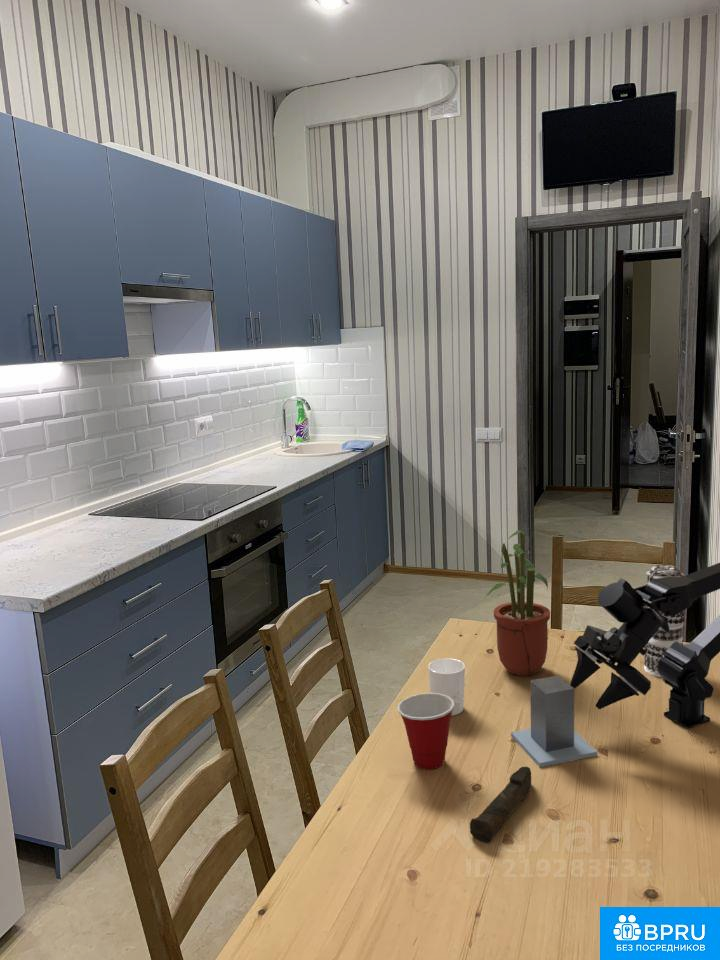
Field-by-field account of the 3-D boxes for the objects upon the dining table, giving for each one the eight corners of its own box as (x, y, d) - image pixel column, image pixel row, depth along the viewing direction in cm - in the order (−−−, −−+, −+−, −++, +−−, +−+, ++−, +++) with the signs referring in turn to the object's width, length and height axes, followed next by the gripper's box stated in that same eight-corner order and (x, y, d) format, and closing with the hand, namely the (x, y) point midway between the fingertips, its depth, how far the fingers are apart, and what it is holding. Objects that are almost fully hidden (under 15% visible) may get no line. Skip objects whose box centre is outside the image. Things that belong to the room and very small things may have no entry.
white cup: (425, 714, 162) (423, 671, 160) (435, 698, 169) (434, 656, 168) (461, 719, 159) (459, 675, 157) (470, 703, 166) (468, 660, 165)
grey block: (558, 731, 151) (558, 675, 149) (574, 746, 145) (574, 688, 143) (530, 736, 149) (530, 680, 147) (545, 752, 144) (545, 693, 141)
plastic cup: (418, 741, 152) (415, 685, 150) (466, 755, 145) (464, 697, 143) (388, 766, 143) (385, 708, 141) (438, 783, 137) (436, 722, 135)
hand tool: (490, 848, 119) (490, 821, 118) (469, 838, 122) (468, 812, 121) (544, 791, 134) (544, 767, 133) (524, 783, 136) (524, 760, 135)
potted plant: (556, 681, 174) (555, 534, 168) (489, 684, 175) (485, 537, 168) (539, 650, 192) (538, 516, 185) (478, 653, 192) (475, 519, 186)
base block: (564, 728, 155) (564, 708, 154) (597, 758, 143) (597, 736, 143) (511, 739, 152) (510, 718, 151) (539, 770, 140) (539, 748, 140)
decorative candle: (637, 673, 176) (638, 570, 171) (647, 659, 183) (649, 560, 179) (678, 682, 171) (681, 576, 166) (687, 666, 178) (690, 564, 174)
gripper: (581, 597, 155) (533, 656, 154) (637, 628, 137) (583, 696, 136) (615, 627, 158) (568, 685, 157) (674, 662, 140) (621, 728, 140)
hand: (583, 697), depth 147 cm, fingers open, 9 cm apart
